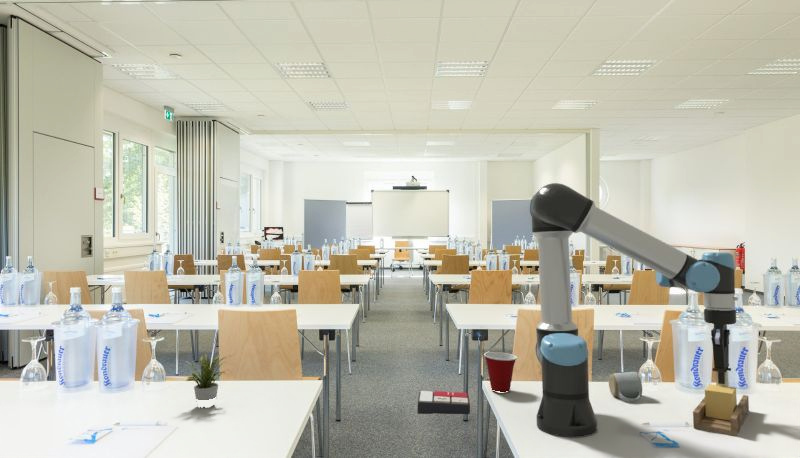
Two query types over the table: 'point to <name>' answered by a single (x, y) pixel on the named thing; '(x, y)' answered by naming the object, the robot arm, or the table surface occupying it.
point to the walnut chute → (721, 424)
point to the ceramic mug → (626, 386)
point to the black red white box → (443, 402)
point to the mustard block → (720, 401)
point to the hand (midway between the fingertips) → (722, 394)
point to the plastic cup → (500, 370)
